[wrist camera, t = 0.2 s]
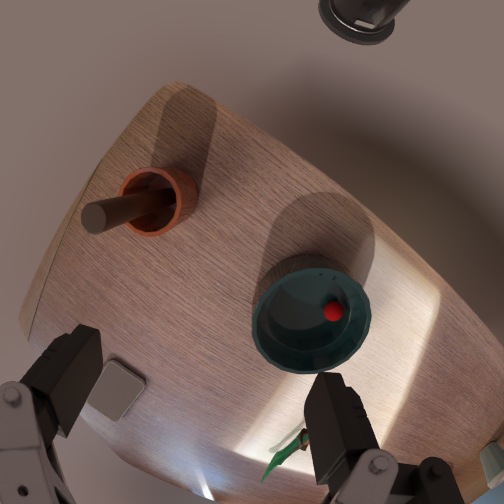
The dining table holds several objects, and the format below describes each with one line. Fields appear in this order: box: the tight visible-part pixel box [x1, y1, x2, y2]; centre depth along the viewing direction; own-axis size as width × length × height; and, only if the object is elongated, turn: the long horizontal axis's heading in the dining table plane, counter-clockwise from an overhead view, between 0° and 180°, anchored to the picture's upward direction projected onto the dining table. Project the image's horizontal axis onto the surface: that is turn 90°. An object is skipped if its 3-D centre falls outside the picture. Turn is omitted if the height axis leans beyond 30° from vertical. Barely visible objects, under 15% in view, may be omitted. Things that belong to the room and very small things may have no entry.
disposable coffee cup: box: [479, 442, 504, 489], centre depth 44 cm, size 11×11×15 cm
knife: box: [261, 428, 309, 483], centre depth 44 cm, size 21×2×5 cm, turn 150°
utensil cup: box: [118, 167, 198, 237], centre depth 32 cm, size 7×7×8 cm
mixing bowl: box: [252, 255, 372, 374], centre depth 36 cm, size 14×14×6 cm
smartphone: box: [87, 359, 146, 422], centre depth 44 cm, size 7×1×15 cm
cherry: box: [324, 301, 343, 321], centre depth 37 cm, size 3×3×3 cm
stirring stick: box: [81, 188, 177, 235], centre depth 26 cm, size 2×2×18 cm
